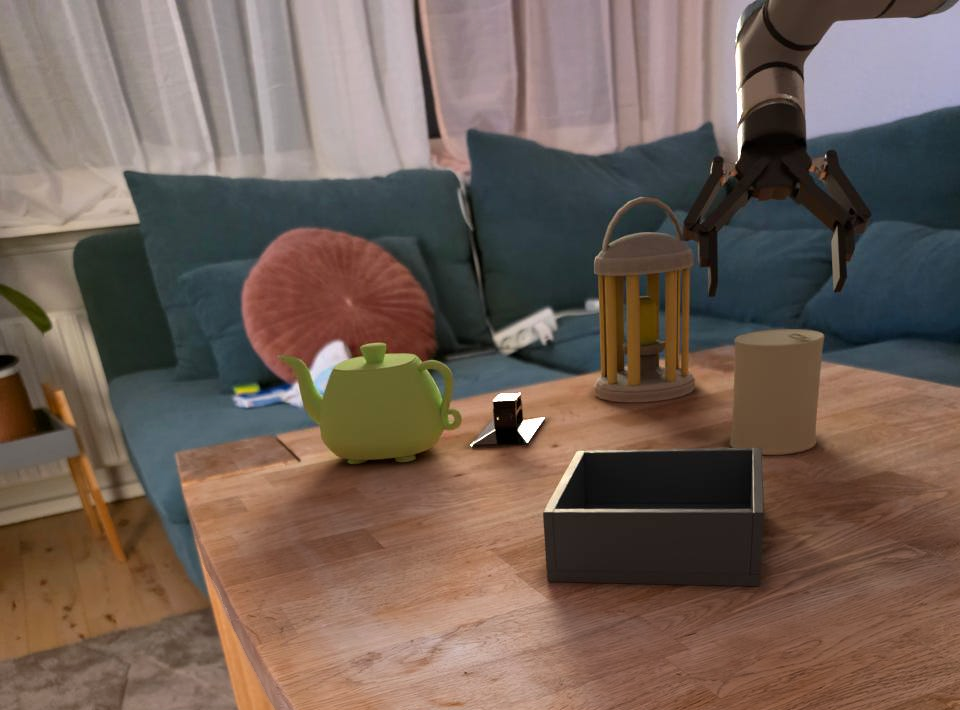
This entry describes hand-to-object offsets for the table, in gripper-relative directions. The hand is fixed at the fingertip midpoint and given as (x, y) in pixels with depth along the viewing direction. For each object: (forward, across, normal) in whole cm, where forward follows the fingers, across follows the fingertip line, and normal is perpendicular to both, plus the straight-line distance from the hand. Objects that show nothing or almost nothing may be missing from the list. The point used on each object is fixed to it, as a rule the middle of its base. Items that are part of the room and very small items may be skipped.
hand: (776, 287), depth 99 cm
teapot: (+14, +47, -10) cm, 50 cm away
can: (+16, 0, -5) cm, 17 cm away
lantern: (-3, +13, -28) cm, 31 cm away
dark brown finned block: (+10, +31, -14) cm, 35 cm away
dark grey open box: (+36, +14, +16) cm, 41 cm away
